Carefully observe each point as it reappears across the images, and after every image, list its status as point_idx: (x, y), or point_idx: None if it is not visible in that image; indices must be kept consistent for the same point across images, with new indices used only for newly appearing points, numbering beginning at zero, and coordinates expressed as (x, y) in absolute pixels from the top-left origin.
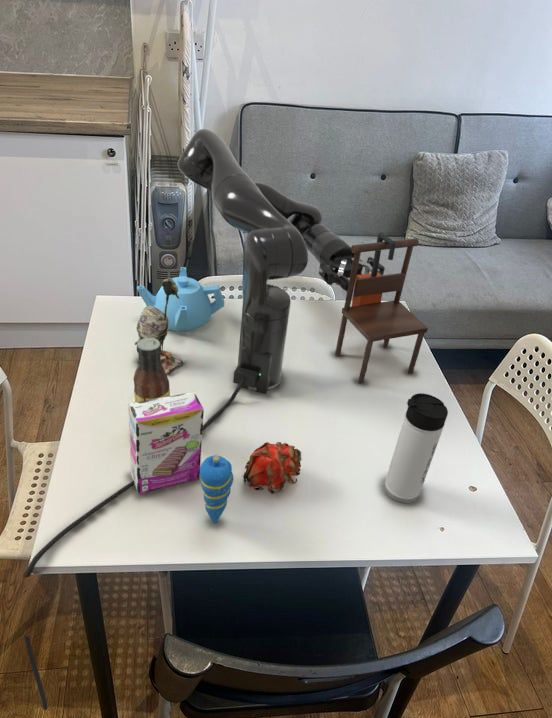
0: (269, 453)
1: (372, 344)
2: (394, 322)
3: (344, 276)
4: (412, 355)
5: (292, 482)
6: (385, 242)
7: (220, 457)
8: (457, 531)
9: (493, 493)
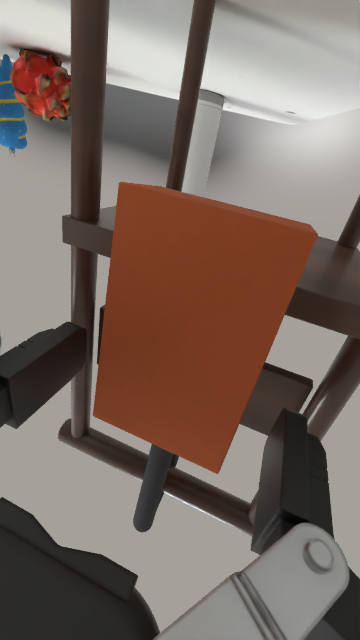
0: (40, 115)
1: (181, 188)
2: None
3: (17, 421)
4: None
5: None
6: None
7: (12, 147)
8: (242, 110)
9: (310, 118)
